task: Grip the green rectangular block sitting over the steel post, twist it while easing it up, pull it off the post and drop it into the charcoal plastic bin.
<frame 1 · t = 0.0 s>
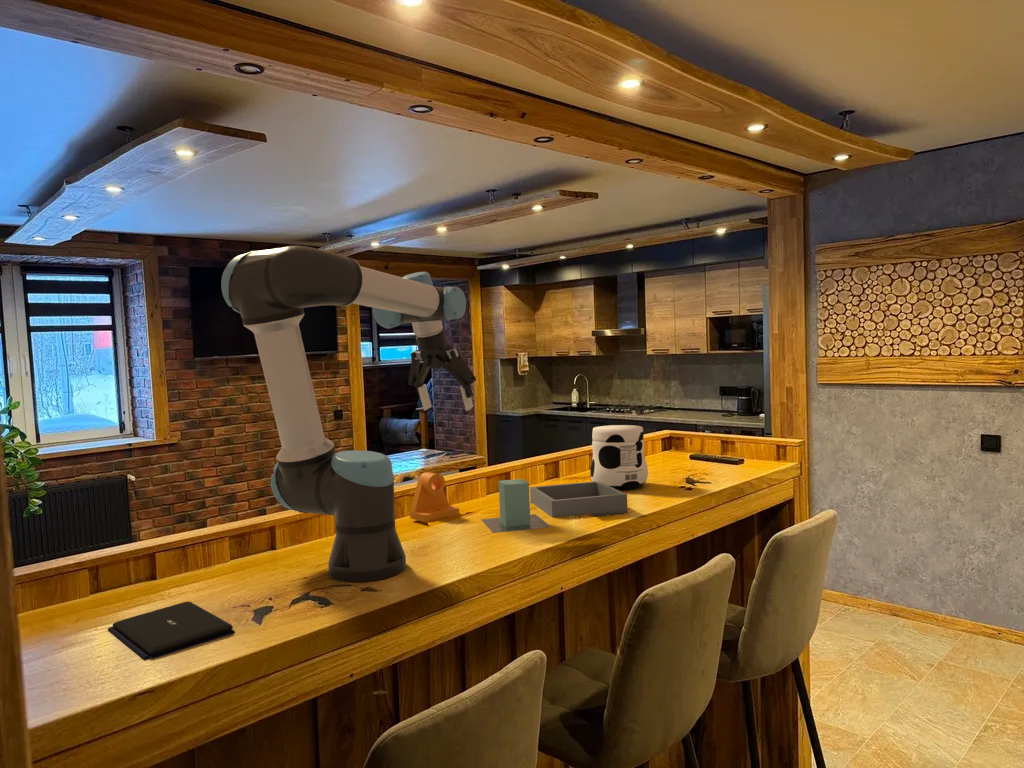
hand: (448, 408, 189), 28 cm above the counter, tool tilted 20°, fingers open, 13 cm apart
bin: (577, 509, 188), on the counter
green rectangular block: (515, 523, 172), point 1 cm above the counter, touching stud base
milk container: (619, 487, 217), on the counter
bracket: (436, 520, 183), on the counter
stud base: (515, 527, 172), on the counter
laptop: (170, 635, 114), on the counter
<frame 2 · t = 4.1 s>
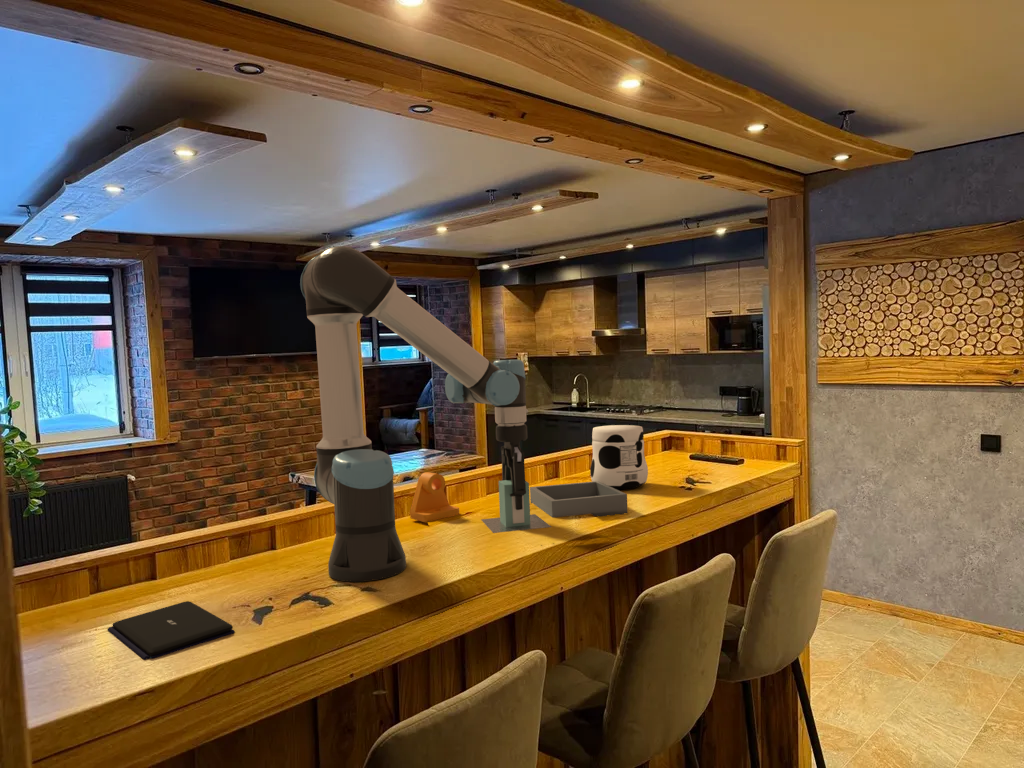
hand: (515, 519, 172), 2 cm above the counter, tool pointing down, fingers closed on green rectangular block, 6 cm apart
green rectangular block: (515, 523, 172), point 1 cm above the counter, touching gripper, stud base
everything else where it was.
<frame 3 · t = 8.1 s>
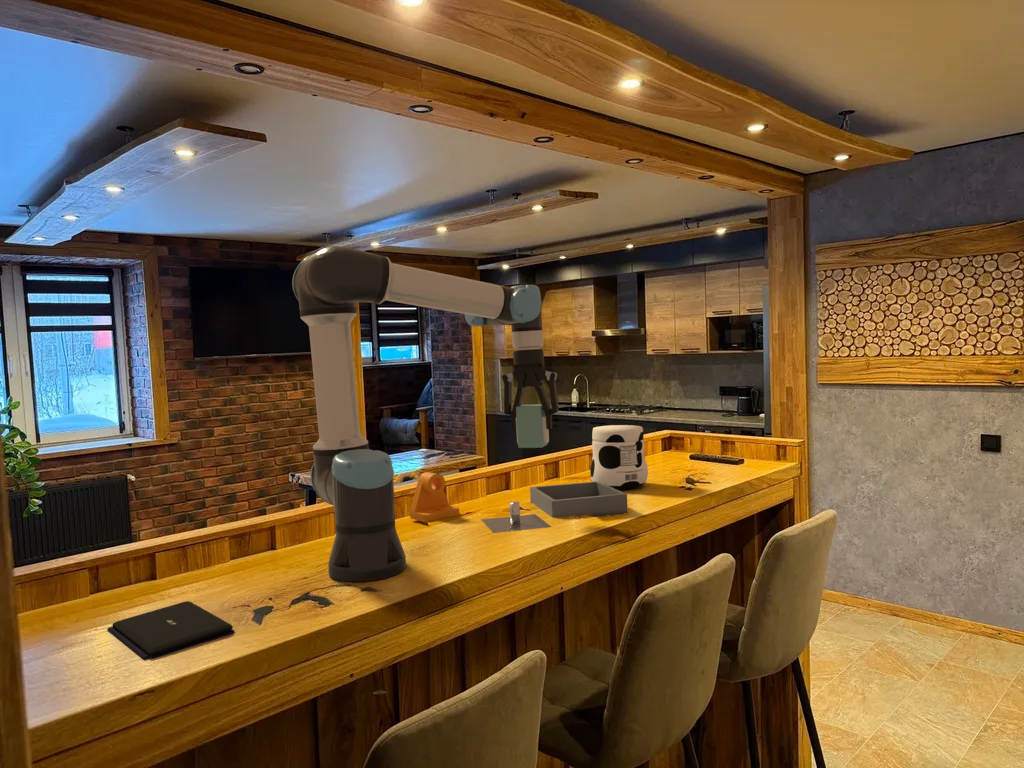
hand: (533, 442, 176), 20 cm above the counter, tool pointing down, fingers closed on green rectangular block, 6 cm apart
green rectangular block: (533, 445, 176), point 19 cm above the counter, touching gripper
everything else where it was.
when the fingers open (4 cm above the counter, at t = 12.2 s): green rectangular block drops 2 cm, resting on bin.
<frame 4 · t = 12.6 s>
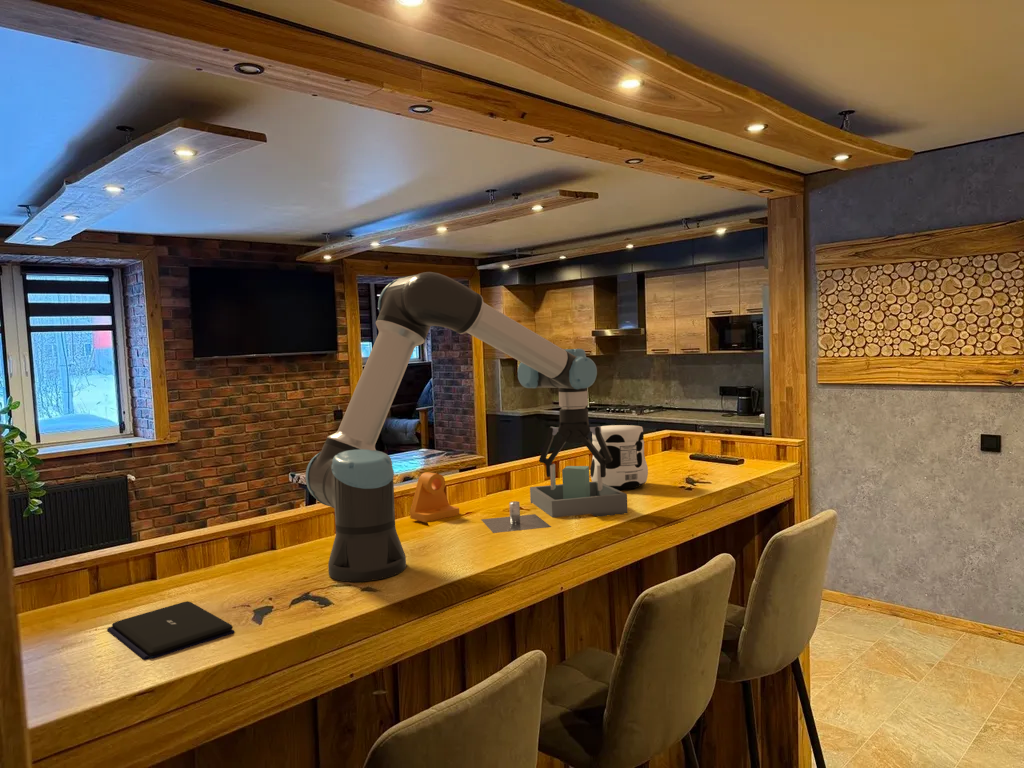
hand: (576, 489, 188), 5 cm above the counter, tool pointing down, fingers open, 12 cm apart
green rectangular block: (577, 505, 188), point 1 cm above the counter, touching bin
everything else where it was.
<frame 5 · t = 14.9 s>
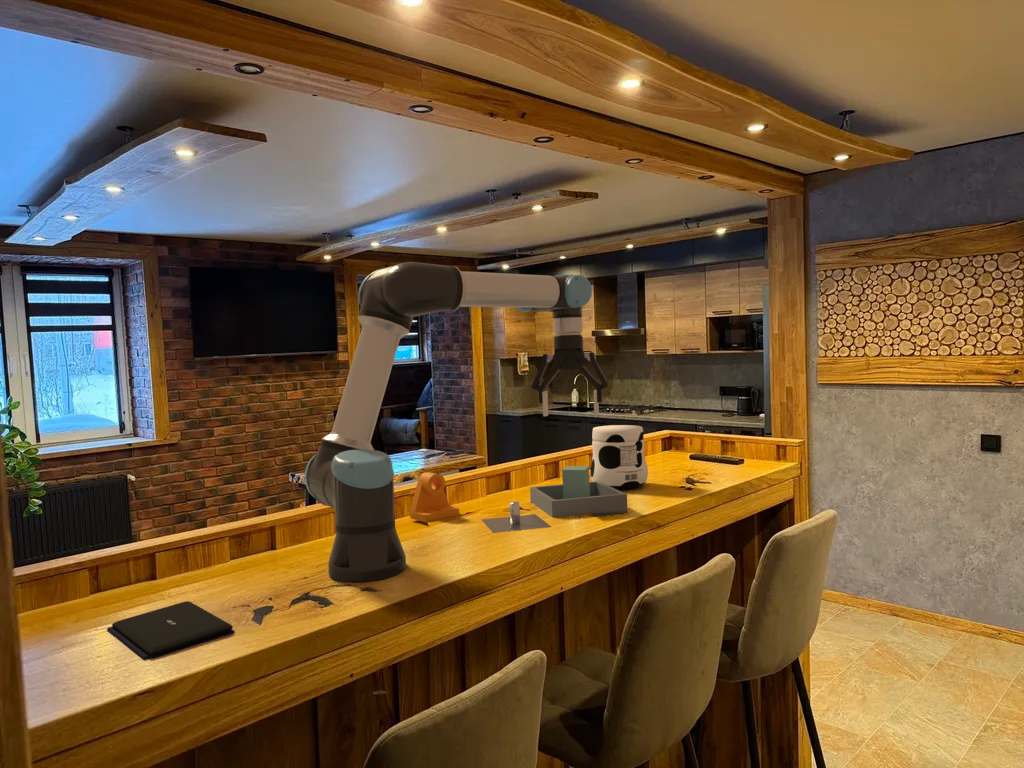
hand: (570, 415, 187), 25 cm above the counter, tool pointing down, fingers open, 13 cm apart
nothing on the counter moved.
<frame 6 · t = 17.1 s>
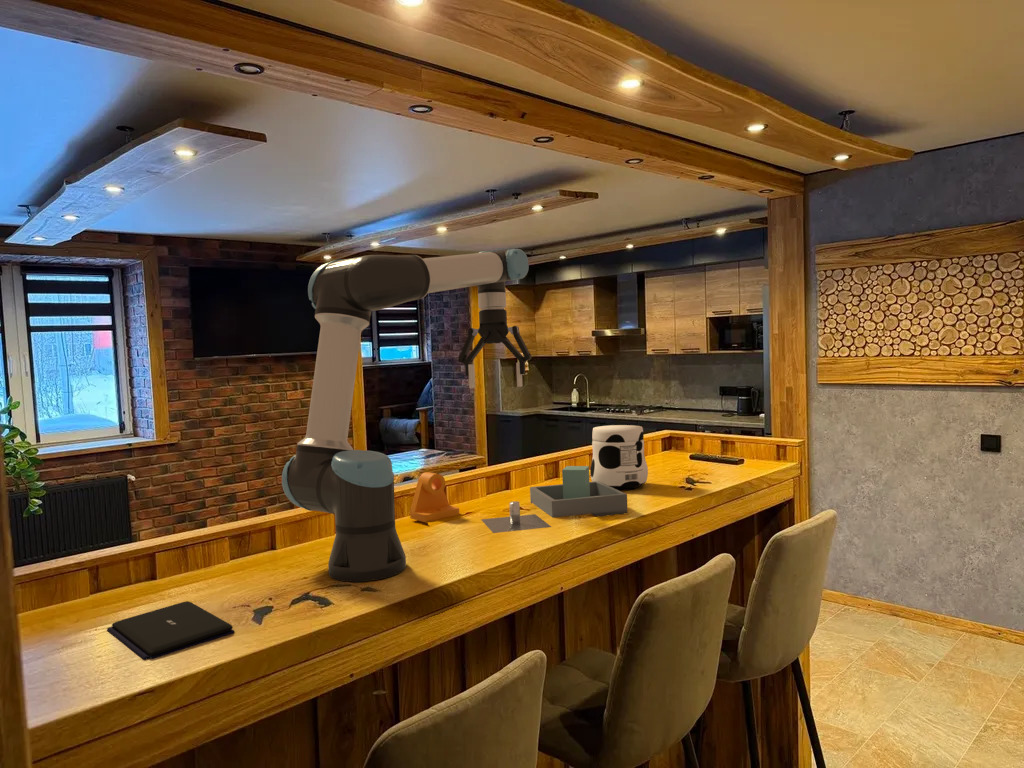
hand: (495, 387, 194), 33 cm above the counter, tool pointing down, fingers open, 13 cm apart
nothing on the counter moved.
at the end: green rectangular block inside the target area on the bin (0.0 cm from its centre), point 1.0 cm above the bin's base; the gripper is holding nothing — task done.
